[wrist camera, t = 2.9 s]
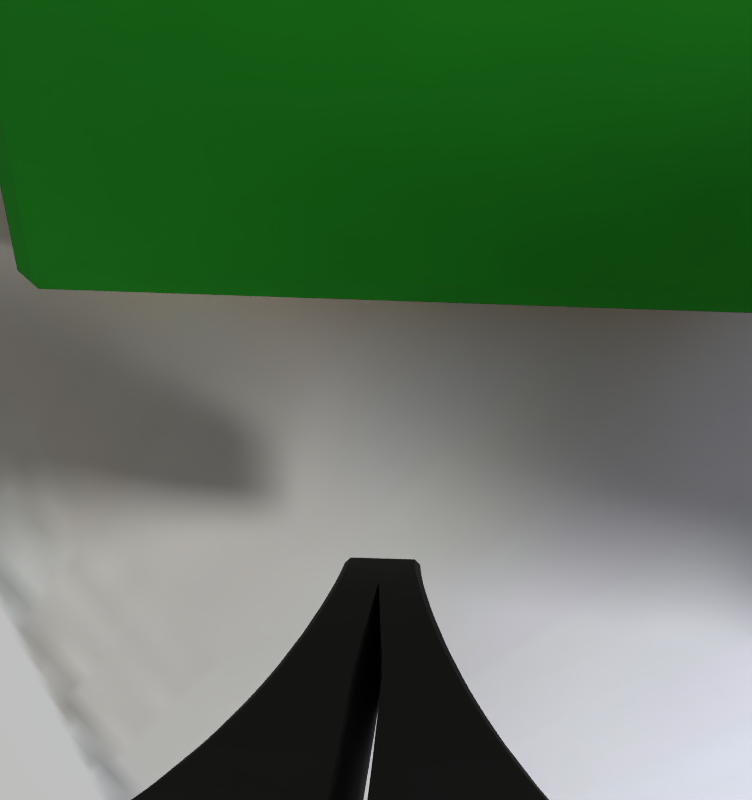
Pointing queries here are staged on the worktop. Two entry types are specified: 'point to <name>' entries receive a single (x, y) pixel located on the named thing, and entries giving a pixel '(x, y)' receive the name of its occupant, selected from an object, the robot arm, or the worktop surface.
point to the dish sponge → (383, 149)
